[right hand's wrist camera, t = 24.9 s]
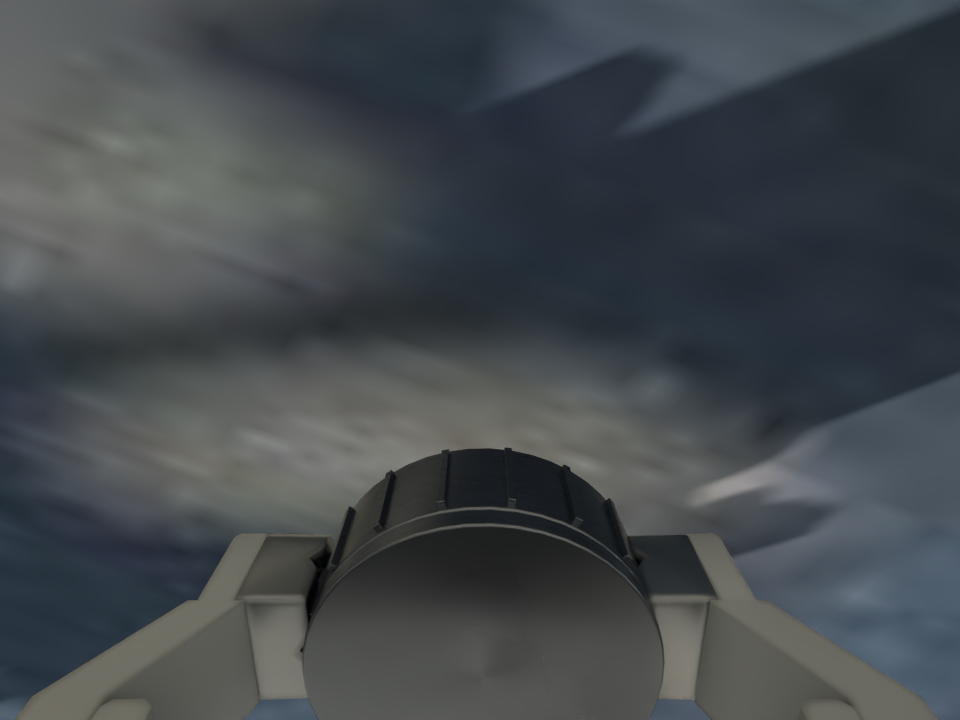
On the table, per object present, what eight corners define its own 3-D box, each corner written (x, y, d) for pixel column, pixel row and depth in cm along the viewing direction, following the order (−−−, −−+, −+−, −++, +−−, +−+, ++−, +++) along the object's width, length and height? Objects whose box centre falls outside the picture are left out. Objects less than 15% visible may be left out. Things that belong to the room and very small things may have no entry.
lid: (284, 478, 10) (241, 561, 8) (612, 412, 10) (644, 483, 8) (376, 714, 12) (356, 825, 10) (656, 667, 11) (690, 775, 9)
